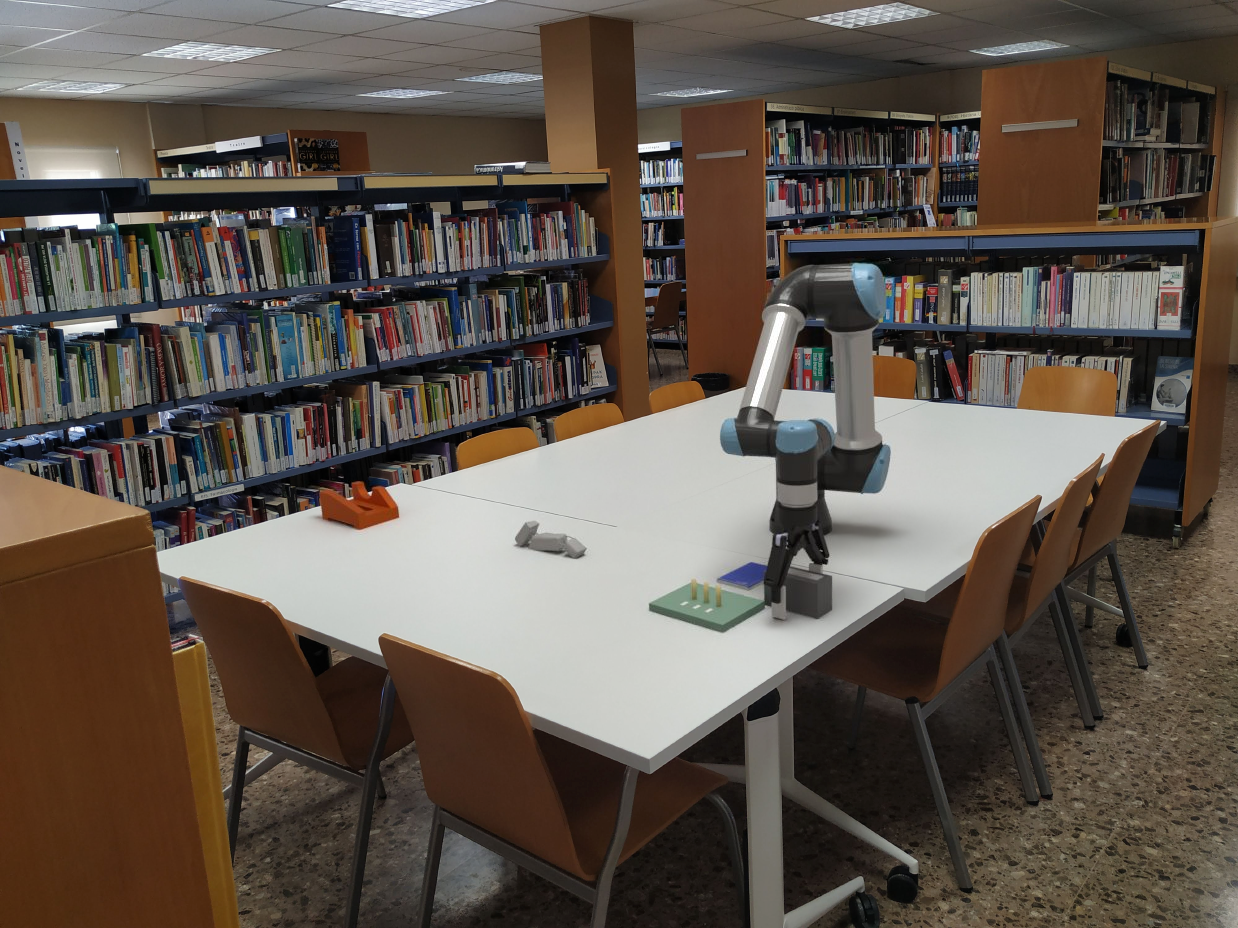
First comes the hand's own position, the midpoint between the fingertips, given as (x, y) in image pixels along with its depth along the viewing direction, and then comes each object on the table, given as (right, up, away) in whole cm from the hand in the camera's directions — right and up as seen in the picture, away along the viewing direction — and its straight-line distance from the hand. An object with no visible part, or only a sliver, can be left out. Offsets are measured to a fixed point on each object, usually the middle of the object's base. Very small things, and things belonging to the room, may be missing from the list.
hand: (797, 606), depth 183 cm
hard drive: (-7, +3, +17) cm, 19 cm away
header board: (-18, -1, +1) cm, 18 cm away
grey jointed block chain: (-52, +7, +41) cm, 66 cm away
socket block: (0, 0, 0) cm, 0 cm away
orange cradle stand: (-107, +12, +75) cm, 131 cm away
